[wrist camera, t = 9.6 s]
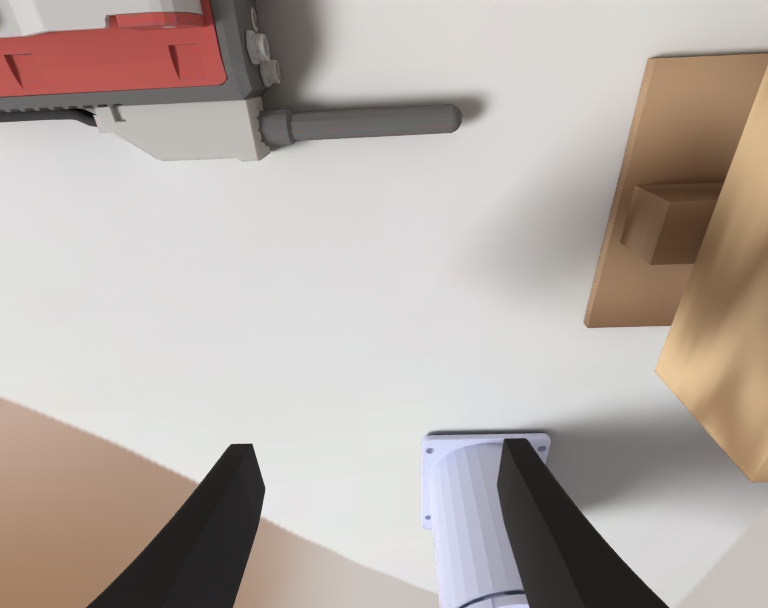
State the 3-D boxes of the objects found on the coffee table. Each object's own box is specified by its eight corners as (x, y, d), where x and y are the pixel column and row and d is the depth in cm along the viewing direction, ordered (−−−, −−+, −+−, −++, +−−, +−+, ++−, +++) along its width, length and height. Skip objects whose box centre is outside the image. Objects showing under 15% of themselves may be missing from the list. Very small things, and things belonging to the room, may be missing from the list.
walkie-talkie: (7, 164, 18) (456, 142, 18) (-95, 189, 14) (474, 163, 14) (-125, -104, 14) (467, -147, 13) (-321, -169, 10) (499, -234, 9)
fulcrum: (738, 318, 21) (786, 353, 19) (583, 322, 22) (610, 357, 19) (864, 48, 15) (960, 44, 13) (648, 58, 16) (699, 56, 13)
